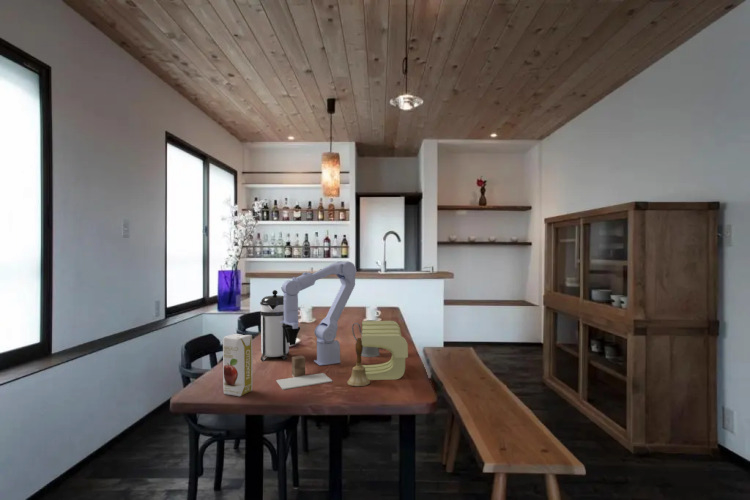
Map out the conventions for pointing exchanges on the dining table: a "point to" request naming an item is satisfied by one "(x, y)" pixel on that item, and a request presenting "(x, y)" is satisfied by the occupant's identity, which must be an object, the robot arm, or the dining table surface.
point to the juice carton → (237, 364)
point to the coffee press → (273, 327)
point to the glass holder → (367, 350)
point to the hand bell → (358, 369)
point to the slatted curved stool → (389, 339)
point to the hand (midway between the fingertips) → (291, 343)
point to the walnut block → (298, 366)
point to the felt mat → (303, 381)
